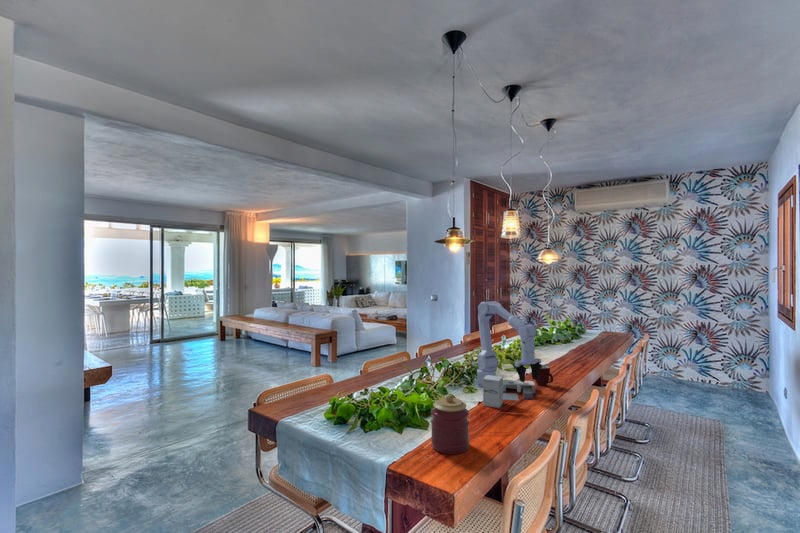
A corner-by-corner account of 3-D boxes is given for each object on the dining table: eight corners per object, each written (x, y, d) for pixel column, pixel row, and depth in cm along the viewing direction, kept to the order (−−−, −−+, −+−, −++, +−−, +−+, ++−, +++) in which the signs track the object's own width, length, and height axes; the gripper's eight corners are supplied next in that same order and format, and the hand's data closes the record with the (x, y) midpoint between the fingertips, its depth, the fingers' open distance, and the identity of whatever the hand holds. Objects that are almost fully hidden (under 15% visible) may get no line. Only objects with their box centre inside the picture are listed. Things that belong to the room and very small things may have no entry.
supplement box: (482, 407, 169) (482, 378, 169) (487, 402, 176) (486, 374, 176) (499, 410, 166) (499, 380, 166) (503, 404, 172) (503, 376, 173)
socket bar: (503, 393, 189) (502, 383, 189) (502, 388, 195) (502, 379, 195) (535, 394, 185) (535, 384, 185) (533, 390, 192) (533, 380, 192)
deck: (500, 401, 177) (500, 399, 177) (500, 394, 187) (500, 392, 187) (519, 402, 175) (519, 400, 175) (517, 395, 185) (517, 393, 185)
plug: (524, 400, 178) (523, 393, 178) (522, 395, 185) (522, 388, 186) (533, 401, 177) (533, 393, 177) (531, 395, 185) (531, 388, 185)
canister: (424, 449, 130) (423, 396, 131) (442, 435, 141) (441, 386, 141) (459, 459, 123) (458, 403, 123) (475, 443, 134) (474, 392, 134)
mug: (557, 387, 197) (557, 367, 197) (549, 390, 192) (549, 370, 192) (539, 382, 205) (538, 363, 205) (530, 385, 200) (530, 366, 200)
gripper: (522, 354, 171) (523, 384, 171) (546, 350, 178) (546, 380, 178) (511, 351, 177) (511, 381, 177) (534, 348, 184) (535, 376, 184)
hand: (528, 380), depth 178 cm, fingers open, 7 cm apart
